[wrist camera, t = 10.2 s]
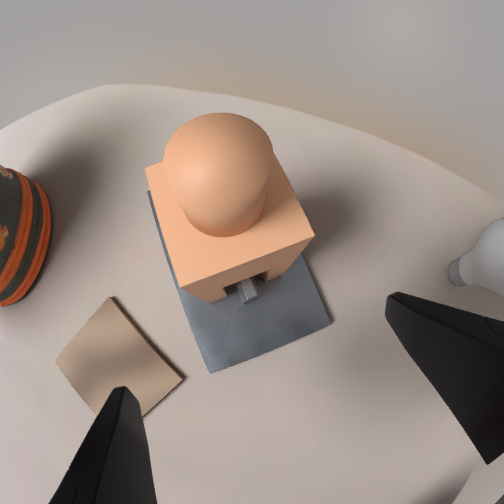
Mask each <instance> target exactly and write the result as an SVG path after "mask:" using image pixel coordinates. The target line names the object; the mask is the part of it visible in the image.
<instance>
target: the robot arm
mask: <svg viewBox="0 0 504 504" xmlns="http://www.w3.org/2000/svg"><path fill="white" fill-rule="evenodd" d="M385 317H386V319H387V321H388V323H389V324H390V326H391V327H392V329H393V330H394V332H395V334H396V335H397V337H398V338H399V340H400V342H401V343H402V345H403V346H404V348H405V349H406V351H407V352H408V354H409V355H410V356H411V358H412V359H413V360H414V361H415V363H416V364H417V365H418V367H419V368H420V369H421V371H422V372H423V373H424V374H425V376H426V377H427V378H428V380H429V381H430V382H431V384H432V385H433V386H434V388H435V389H436V391H437V392H438V393H439V395H440V396H441V397H442V399H443V400H444V402H445V403H446V404H447V406H448V407H449V409H450V410H451V411H452V413H453V414H454V416H455V417H456V419H457V420H458V421H459V423H460V424H461V426H462V427H463V429H464V431H465V432H466V433H467V435H468V436H469V438H470V439H471V441H472V443H473V444H474V446H475V447H476V449H477V450H478V452H479V453H480V455H481V456H482V458H483V460H484V461H485V463H486V464H487V465H488V464H490V463H491V462H492V461H494V460H495V459H496V458H497V457H499V456H500V455H501V454H503V453H504V322H503V321H499V320H496V319H492V318H489V317H485V316H484V317H483V316H481V315H478V314H475V313H471V312H468V311H464V310H461V309H457V308H454V307H450V306H447V305H443V304H440V303H436V302H433V301H429V300H426V299H422V298H419V297H415V296H412V295H408V294H405V293H401V292H395V293H393V294H391V295H389V296H388V297H387V301H386V309H385ZM49 504H157V499H156V494H155V488H154V482H153V476H152V469H151V462H150V455H149V447H148V442H147V437H146V432H145V428H144V423H143V418H142V413H141V408H140V404H139V401H138V400H137V398H136V397H135V396H134V395H133V393H132V392H131V391H130V390H129V389H128V387H126V386H119V387H115V388H114V389H113V390H112V391H111V393H110V395H109V397H108V398H107V400H106V402H105V403H104V405H103V407H102V408H101V410H100V412H99V414H98V415H97V417H96V419H95V421H94V422H93V424H92V426H91V428H90V430H89V431H88V433H87V435H86V437H85V439H84V440H83V442H82V444H81V446H80V448H79V449H78V451H77V453H76V455H75V457H74V459H73V461H72V463H71V465H70V466H69V470H67V472H66V474H65V476H64V478H63V480H62V482H61V483H60V485H59V487H58V489H57V491H56V492H55V494H54V496H53V497H52V499H51V500H50V502H49ZM495 504H504V495H503V496H502V497H501V498H500V499H499V500H498V501H497V502H496V503H495Z"/></svg>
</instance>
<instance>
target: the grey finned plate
mask: <svg viewBox="0 0 504 504" xmlns="http://www.w3.org/2000/svg"><path fill="white" fill-rule="evenodd" d="M147 192H148V196H149V200H150V204H151V207H152V211H153V214H154V218H155V222H156V225H157V228H158V232H159V235H160V239H161V242H162V245H163V248H164V252H165V255H166V258H167V261H168V264H169V267H170V270H171V273H172V276H173V279H174V282H175V285H176V288H177V291H178V294H179V296H180V299H181V302H182V305H183V308H184V310H185V313H186V316H187V318H188V321H189V324H190V326H191V329H192V332H193V334H194V337H195V339H196V342H197V344H198V347H199V349H200V352H201V354H202V357H203V359H204V361H205V364H206V366H207V368H208V371H209V373H213V372H216V371H219V370H221V369H224V368H227V367H230V366H233V365H235V364H238V363H241V362H243V361H246V360H249V359H251V358H254V357H256V356H259V355H261V354H264V353H266V352H269V351H271V350H274V349H276V348H279V347H281V346H283V345H286V344H288V343H290V342H293V341H295V340H297V339H300V338H302V337H304V336H306V335H309V334H311V333H313V332H315V331H317V330H319V329H322V328H324V327H326V326H328V325H330V324H331V322H330V320H329V317H328V315H327V313H326V310H325V308H324V305H323V303H322V301H321V298H320V296H319V293H318V291H317V289H316V286H315V284H314V282H313V279H312V277H311V275H310V272H309V270H308V268H307V266H306V263H305V261H304V259H303V256H302V254H301V253H300V255H299V256H298V257H297V258H296V259H295V261H294V262H293V263H292V264H291V265H290V267H289V268H288V269H287V270H286V271H285V273H284V274H283V275H281V276H279V277H276V278H274V279H271V280H269V281H266V282H264V280H263V277H262V275H261V273H259V274H257V275H254V276H252V277H249V278H247V279H244V280H241V281H239V282H236V283H234V284H231V285H228V286H226V287H224V289H225V291H226V294H227V297H225V298H222V299H220V300H217V301H214V302H212V303H207V302H205V301H203V300H201V299H200V298H198V297H196V296H194V295H192V294H190V293H189V292H187V291H185V290H183V289H182V288H180V287H179V284H178V281H177V278H176V275H175V272H174V269H173V266H172V263H171V260H170V257H169V254H168V250H167V247H166V244H165V241H164V237H163V234H162V231H161V227H160V224H159V221H158V217H157V214H156V210H155V206H154V203H153V199H152V195H151V192H150V190H149V191H147Z"/></svg>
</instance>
